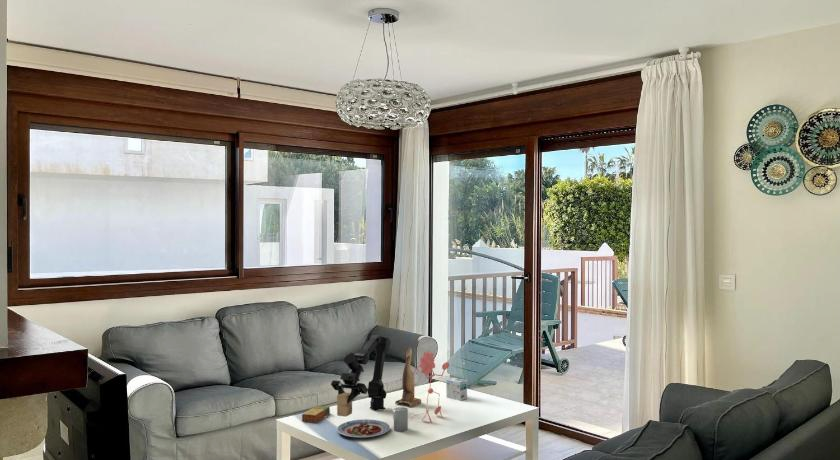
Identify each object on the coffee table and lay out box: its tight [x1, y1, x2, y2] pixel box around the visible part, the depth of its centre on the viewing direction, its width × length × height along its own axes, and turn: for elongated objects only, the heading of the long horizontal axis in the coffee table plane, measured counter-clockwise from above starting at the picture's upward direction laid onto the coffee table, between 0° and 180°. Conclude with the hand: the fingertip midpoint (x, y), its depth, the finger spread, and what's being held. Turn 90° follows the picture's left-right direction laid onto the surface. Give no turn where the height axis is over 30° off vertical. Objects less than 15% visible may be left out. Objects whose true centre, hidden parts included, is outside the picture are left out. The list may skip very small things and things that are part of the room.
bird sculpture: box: [394, 347, 422, 408], centre depth 356 cm, size 11×12×32 cm
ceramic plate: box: [336, 418, 391, 439], centre depth 310 cm, size 26×26×3 cm
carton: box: [301, 405, 331, 424], centre depth 333 cm, size 8×16×4 cm, turn 162°
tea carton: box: [336, 392, 353, 418], centre depth 315 cm, size 6×5×10 cm
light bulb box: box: [445, 377, 468, 401], centre depth 367 cm, size 11×7×11 cm, turn 49°
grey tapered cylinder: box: [393, 406, 409, 433], centre depth 313 cm, size 7×7×10 cm
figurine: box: [411, 350, 450, 423], centre depth 331 cm, size 15×26×35 cm, turn 139°
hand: (343, 401), depth 314 cm, fingers closed on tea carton, 5 cm apart
